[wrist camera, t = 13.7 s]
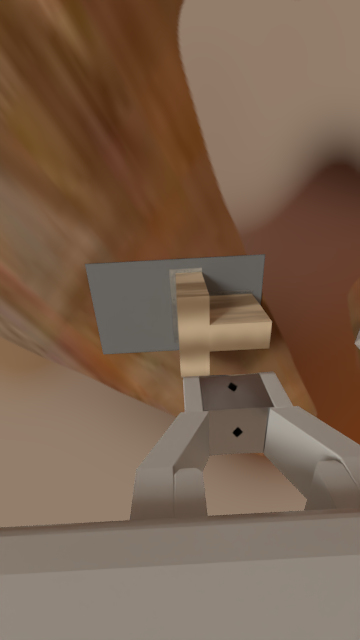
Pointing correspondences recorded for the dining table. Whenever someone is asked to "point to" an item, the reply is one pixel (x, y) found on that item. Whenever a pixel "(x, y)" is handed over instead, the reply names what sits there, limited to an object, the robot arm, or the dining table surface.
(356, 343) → the die
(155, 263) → the t mat
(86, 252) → the dining table surface
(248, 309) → the t block
